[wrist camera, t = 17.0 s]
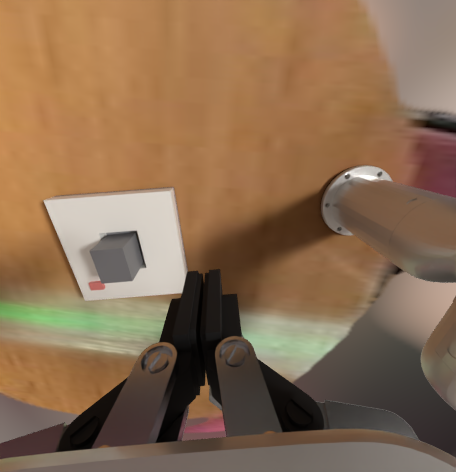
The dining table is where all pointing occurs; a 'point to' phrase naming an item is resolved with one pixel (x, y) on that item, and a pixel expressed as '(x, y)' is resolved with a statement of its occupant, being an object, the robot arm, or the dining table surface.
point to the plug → (117, 258)
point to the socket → (119, 222)
